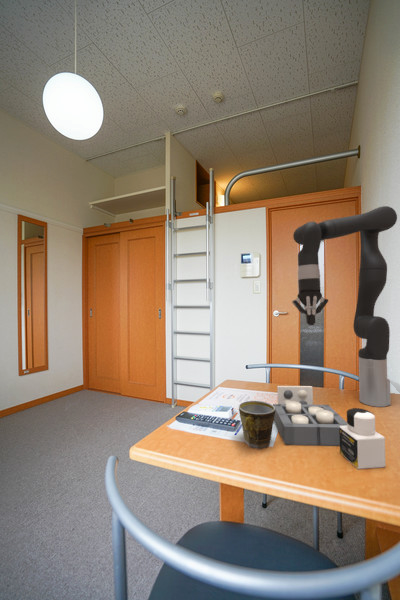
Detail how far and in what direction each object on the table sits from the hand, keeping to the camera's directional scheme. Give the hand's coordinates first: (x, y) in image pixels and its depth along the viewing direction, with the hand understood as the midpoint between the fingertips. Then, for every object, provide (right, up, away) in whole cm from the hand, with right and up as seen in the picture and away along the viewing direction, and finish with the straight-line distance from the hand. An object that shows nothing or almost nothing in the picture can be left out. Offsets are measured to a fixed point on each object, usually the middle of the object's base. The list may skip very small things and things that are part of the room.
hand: (310, 325), depth 101 cm
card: (-7, -31, -3) cm, 32 cm away
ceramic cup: (-26, -31, -26) cm, 48 cm away
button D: (-12, -28, -21) cm, 37 cm away
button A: (-4, -28, -15) cm, 32 cm away
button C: (-11, -26, -14) cm, 32 cm away
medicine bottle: (-1, -30, -34) cm, 45 cm away
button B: (-5, -26, -22) cm, 34 cm away
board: (-8, -30, -18) cm, 36 cm away
